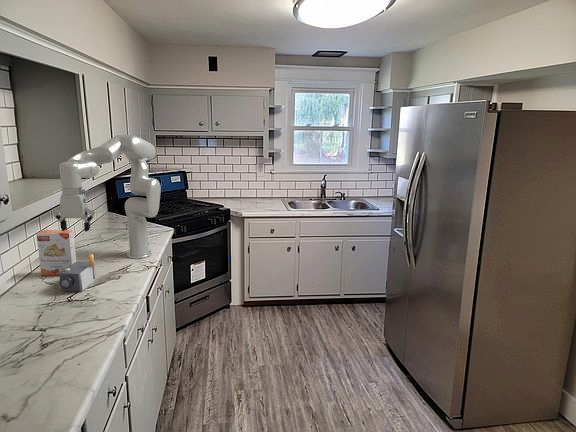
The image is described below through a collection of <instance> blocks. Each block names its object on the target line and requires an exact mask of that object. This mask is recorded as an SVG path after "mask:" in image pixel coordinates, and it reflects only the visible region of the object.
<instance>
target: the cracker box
mask: <svg viewBox="0 0 576 432" xmlns="http://www.w3.org/2000/svg"><path fill="white" fill-rule="evenodd" d="M36 240H37V249H38V251H37V252H38V259H39V265H40V266H39V267H40V274H41V276H42V277H43V276H44V277H47V276H48V277H49V276H53V277H54V276H55V277H56V276H57V277H58V276H59V273H60V272H62V271H63V270H65V269H66V268H68V267H69V266H70V265H72V264H73V263H75V262H77V253H76V244H75V243H76V242H75V233H74V229H66V230H64V231H62V229H41V230H40V231H38V232H37V233H36Z"/></svg>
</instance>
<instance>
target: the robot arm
mask: <svg viewBox="0 0 576 432" xmlns="http://www.w3.org/2000/svg"><path fill="white" fill-rule="evenodd" d="M156 153H157V150H156V147H155V146H154V144H152V143H150V142H149V141H147V140H145V139H143V138H141V137H139V136H137V135H132V134H131V135H130V134H117V135H114V136H113V137H111V138H110V139H108V140H107V141H105V142H104V143H102V144H101V145H99V146H96V147H93V148H90V149H86V150H84V151H81V152H78V153H77V154H75V155H72V157H70V158H69V159H68V160H66V161H62V162H61V163H59V175H60V187H61V194H60V198H59V199H60V200H59V208H57V209H55V210H53V211H52V214H53V216H54V217H55V218H56V219H57V221H58V222H59V225H60V230H62V231H64V230H68V225H67V220H66V219H82V220H83V221H84V223H83V226H84V227H83V228H84V232H89V231H90V229H91V223H90V222H91V221H92V219H94V217H95V215H96V212H95V211H94V210H92V209H90V208H89V207H88V202H87V199H86V195H85V194H84V193H85V192H86V189H83V186H82V179H91V178H95V177H96V176H97V175H98V174H99V171H100V167H99V165H105V164H108V163H109V164H110V163H112V162H114V161H115V160H116V159H117V158H119V157H120V156H122V155H124V156H125V158H126V159H127V160H128V162H129V163H130V166H131V169H130V170H131V171H130V181H129V182H130V183H129V191H130V192H131V194H133V195H136V196H135V197H129V198H128V199H126V201H125V203H124V210H125V214H126V218H127V226H128V227H127V229H128V243H129V244H128V245H129V251H128V252H127V253H126V257H127V258H129V259H134V260H135V259H139V260H140V259H145V258H148V257H151V256H152V254H153V252H152V251H151V249H149V245H150V244H149V236H148V232H149V231H148V222H147V219H146V218H154V217H156V216H157V215H158V214H159V213H158V212H159V209H160V202H161V201H160V200H161V192H162V191H161V190H162V187H161V183H160V181H159V180H158V179H157V178H152V177H149V170H150V169H149V165H148V163H147V161H151V160H153V159H154V158H155V157H156ZM137 196H145V197H146V198H144V197H137Z"/></svg>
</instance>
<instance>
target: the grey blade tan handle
mask: <svg viewBox="0 0 576 432" xmlns="http://www.w3.org/2000/svg"><path fill="white" fill-rule="evenodd" d="M87 257H88V262H89V267H87V268H86V269H85V270H84V271H82V272H81V273H79V274H78V278H79V288H80V291H79V292H80V293H81V292H83V291H84V290H85V289H87V288H88V287H89V286H90V285H91V284H92V283H93V282H94V280H93V271H92V267H94V268H95V260H94V259H95V258H94V253H89V254H88V256H87Z"/></svg>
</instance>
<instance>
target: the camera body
mask: <svg viewBox="0 0 576 432" xmlns="http://www.w3.org/2000/svg"><path fill="white" fill-rule="evenodd" d="M87 267H89V261H76V262H75V263H73V264H72V265H70V266H69V267H68V268H66V269H65V270H63V271H62V272H60V273H59V275H58V277H59V286H60V291H61V292H80V288H79V278H78V274H79V273H81V272H82V271H84V270H85V269H86V268H87ZM92 271H93V281H94V280H96V278H95V277H96V276H95V275H96V274H95V266H94V267H92Z"/></svg>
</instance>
